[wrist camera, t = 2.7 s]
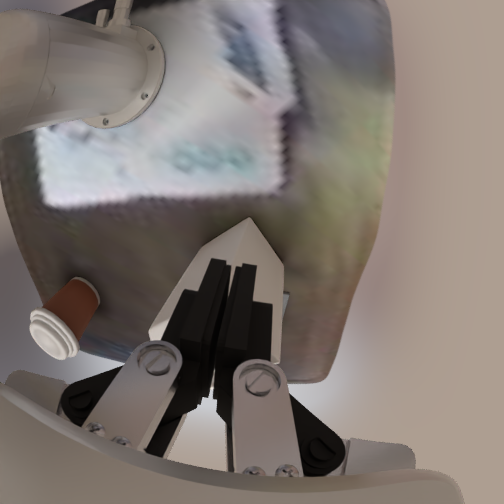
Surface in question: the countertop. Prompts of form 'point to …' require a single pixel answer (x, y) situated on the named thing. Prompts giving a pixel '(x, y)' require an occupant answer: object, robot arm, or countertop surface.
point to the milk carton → (235, 253)
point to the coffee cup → (64, 318)
